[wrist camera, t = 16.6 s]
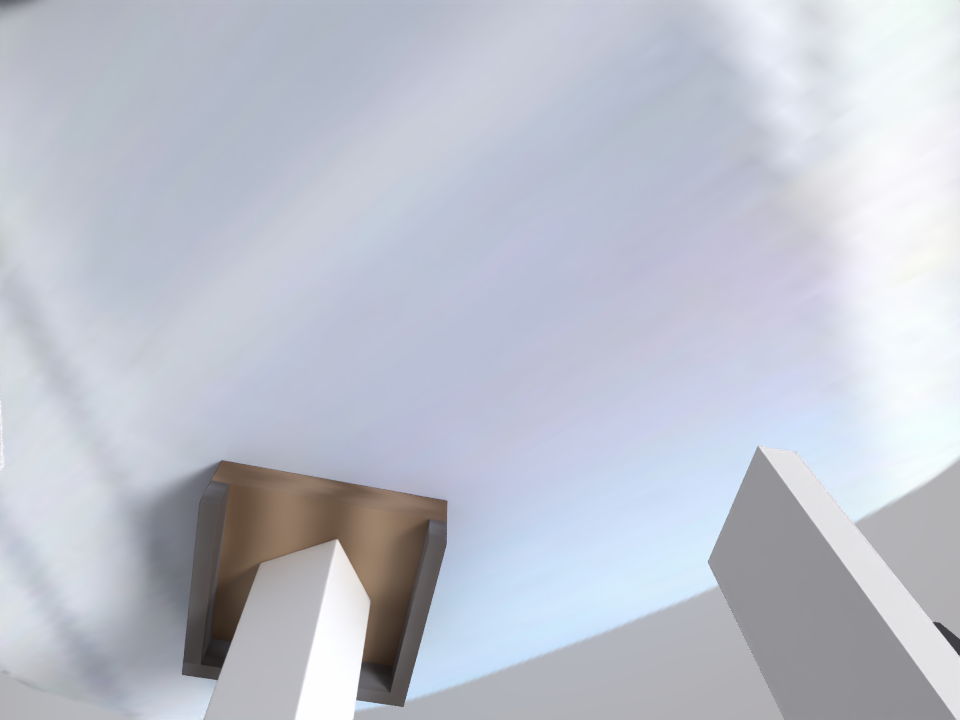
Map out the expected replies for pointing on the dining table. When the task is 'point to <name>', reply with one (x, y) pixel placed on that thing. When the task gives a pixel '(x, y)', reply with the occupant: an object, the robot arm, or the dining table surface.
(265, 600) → the milk
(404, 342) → the dining table surface
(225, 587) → the dock
